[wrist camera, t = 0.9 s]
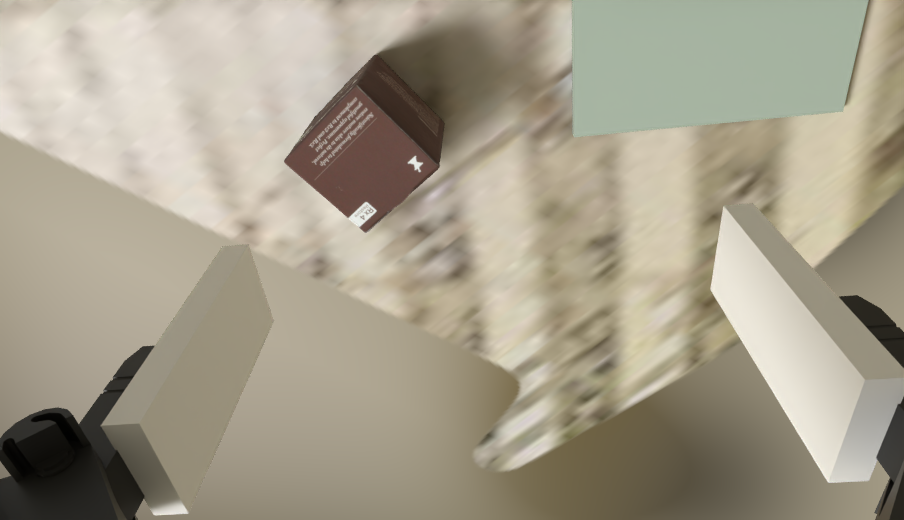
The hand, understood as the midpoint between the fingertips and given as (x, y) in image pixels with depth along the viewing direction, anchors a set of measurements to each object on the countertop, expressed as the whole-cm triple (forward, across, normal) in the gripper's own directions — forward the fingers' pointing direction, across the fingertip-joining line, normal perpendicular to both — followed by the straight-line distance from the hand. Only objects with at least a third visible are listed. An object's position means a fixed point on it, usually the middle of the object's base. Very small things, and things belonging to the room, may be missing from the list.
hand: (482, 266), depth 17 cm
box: (+22, -6, -3) cm, 23 cm away
